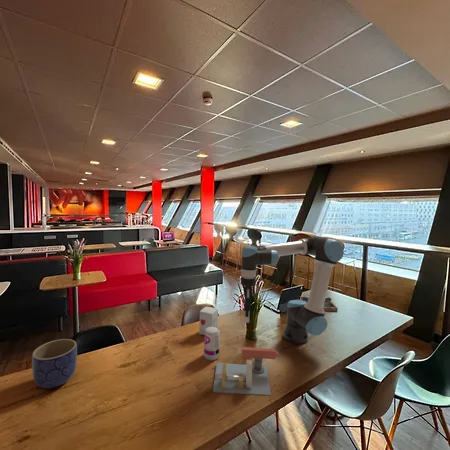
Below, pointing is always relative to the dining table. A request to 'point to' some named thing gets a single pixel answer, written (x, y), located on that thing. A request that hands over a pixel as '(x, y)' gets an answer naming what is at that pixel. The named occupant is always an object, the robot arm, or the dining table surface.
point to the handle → (259, 353)
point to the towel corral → (332, 308)
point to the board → (258, 382)
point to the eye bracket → (240, 383)
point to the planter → (54, 363)
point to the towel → (326, 303)
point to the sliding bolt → (236, 377)
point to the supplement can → (211, 343)
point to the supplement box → (207, 318)
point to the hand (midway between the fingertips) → (246, 321)
